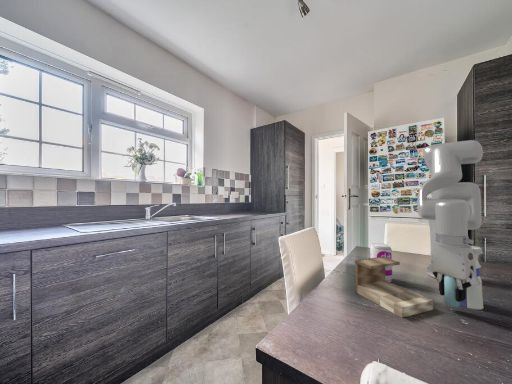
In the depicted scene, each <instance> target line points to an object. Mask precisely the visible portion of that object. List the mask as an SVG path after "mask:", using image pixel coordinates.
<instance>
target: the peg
mask: <svg viewBox="0 0 512 384" xmlns="http://www.w3.org/2000/svg"><path fill="white" fill-rule="evenodd" d="M456 288H458V286H457V281H456V278H454V277H451V276H448V275H444V295H443V297H444V298H443V299H444V300H443V301H444V304H445V305H446V306H449V307H452V308H460V307H461V306H460V302H457V301H456V292H455V289H456Z"/></svg>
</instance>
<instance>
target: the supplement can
mask: <svg viewBox="0 0 512 384" xmlns="http://www.w3.org/2000/svg"><path fill="white" fill-rule="evenodd" d="M378 257H385V258H388V259H391V260H393V250H392V248H391V246H390V245H389V244H385V243H376V242H375V243H371V246H370V247H369V259H370V258H378ZM385 280H386V281H388V282H390V283H391V282H392V281H393V266H387V267H385Z"/></svg>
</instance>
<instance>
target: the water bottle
mask: <svg viewBox="0 0 512 384" xmlns="http://www.w3.org/2000/svg"><path fill="white" fill-rule="evenodd" d="M468 246H471V247H472V250H473V253H474V257H475V263H476V276H477V278H478V279H479V281H480V282H481V284H480V285H476V286H470V287H468V288H466V299H465V300H464V301H461V302H460V307H462V308H463V307H464V308H466V309H471V310H483V309H484V298H483V282H482V277H481V276H480V269H481V267H482V265H481V264H480V262H479V255H482V254H483V253H484V251H483V249H482V247H480V246H476V245H471V244H469V245H468ZM469 281H471V279H470V278H469V279H468V280H467V282H469Z"/></svg>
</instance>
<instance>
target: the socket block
mask: <svg viewBox="0 0 512 384" xmlns="http://www.w3.org/2000/svg"><path fill="white" fill-rule="evenodd" d="M354 263H355V265H354V266H355V267H354V269H355V270H354V271H355V278H354V279H355V293H357V294H358V295H360V296H361V297H364V298H366V299H367V300H369V301H371V302H373V303H374V304H377V305H378V306H380V307H382V308H384V309H386V310H387V311H389V312H391V313H393V314H394V315H396V316H398V317H400V318H401V319H402V318H405V317H406V318H407V317H410V316H414V315H417V314H421V313H425V312H430V311H433V310H434V299H432V298H428V297H426V296H424V295H421V294H420V293H417V292H414V291H412V290H410V289H408V288H405V287H403V286H400V285H398V284H396V283H392V282H391V281H390V282H388V281H386V280H385V267H387V266H392V267H393V266H400V264H401V263H400V261H398V260H395V259H392V260H391V259H388V258H385V257H378V258H370V257H369V258H364V259H355V262H354Z"/></svg>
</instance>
